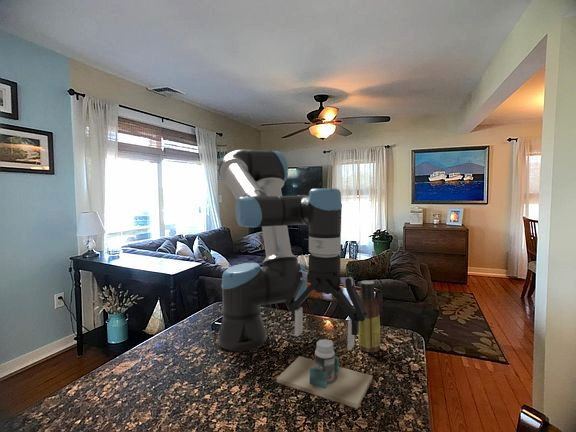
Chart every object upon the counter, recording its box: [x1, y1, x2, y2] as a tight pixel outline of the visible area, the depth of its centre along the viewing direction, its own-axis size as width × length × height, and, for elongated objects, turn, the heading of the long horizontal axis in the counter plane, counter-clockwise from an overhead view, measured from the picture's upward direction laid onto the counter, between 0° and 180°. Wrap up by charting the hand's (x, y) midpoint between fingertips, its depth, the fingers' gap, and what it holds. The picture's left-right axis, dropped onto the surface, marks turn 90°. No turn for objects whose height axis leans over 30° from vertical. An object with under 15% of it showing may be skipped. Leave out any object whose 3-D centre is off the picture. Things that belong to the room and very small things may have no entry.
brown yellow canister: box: [357, 280, 381, 354], centre depth 93 cm, size 7×6×20 cm
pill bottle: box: [314, 339, 336, 381], centre depth 77 cm, size 5×5×8 cm
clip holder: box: [276, 355, 373, 410], centre depth 77 cm, size 20×12×4 cm, turn 61°
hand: (323, 340), depth 77 cm, fingers open, 13 cm apart
